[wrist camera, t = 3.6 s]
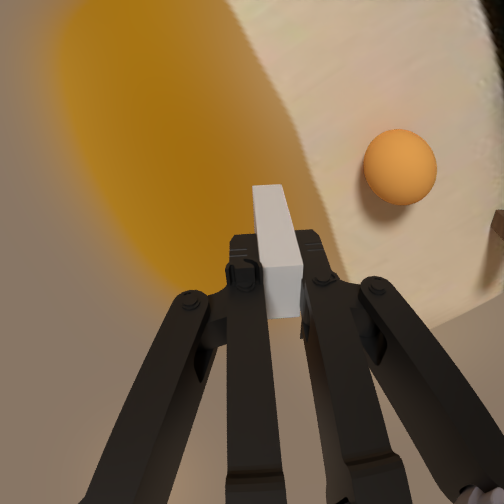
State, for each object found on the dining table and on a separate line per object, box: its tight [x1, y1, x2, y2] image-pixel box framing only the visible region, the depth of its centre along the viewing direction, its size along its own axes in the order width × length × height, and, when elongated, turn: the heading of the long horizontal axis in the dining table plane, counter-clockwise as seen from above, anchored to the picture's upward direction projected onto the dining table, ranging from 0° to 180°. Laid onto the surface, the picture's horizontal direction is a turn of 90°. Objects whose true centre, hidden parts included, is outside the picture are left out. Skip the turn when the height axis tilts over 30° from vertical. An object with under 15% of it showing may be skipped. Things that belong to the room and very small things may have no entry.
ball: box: [364, 129, 437, 205], centre depth 21 cm, size 6×6×6 cm
